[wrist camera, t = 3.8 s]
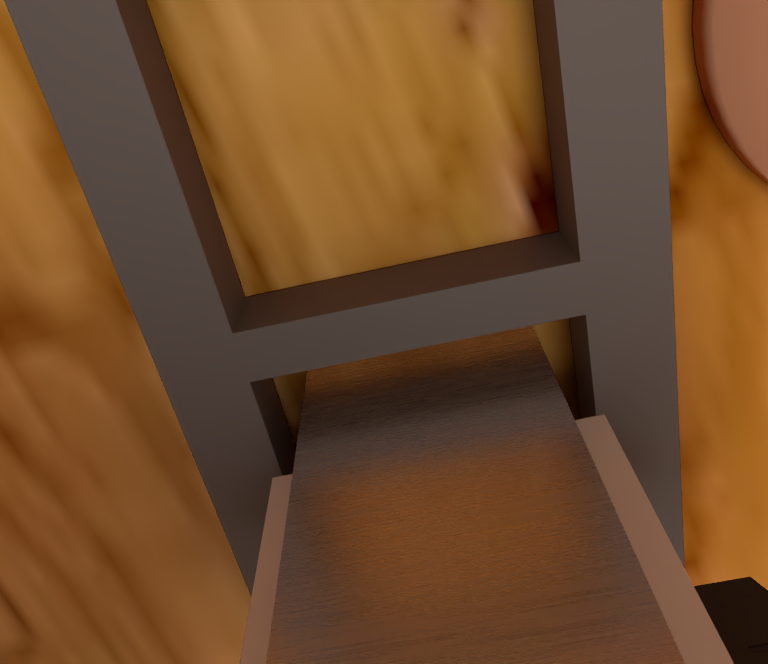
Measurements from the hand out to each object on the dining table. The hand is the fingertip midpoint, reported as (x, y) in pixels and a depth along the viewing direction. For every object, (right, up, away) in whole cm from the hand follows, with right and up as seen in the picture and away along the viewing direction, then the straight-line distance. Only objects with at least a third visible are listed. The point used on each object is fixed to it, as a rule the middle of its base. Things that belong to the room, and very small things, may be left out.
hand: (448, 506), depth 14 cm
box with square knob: (0, +1, +2) cm, 2 cm away
